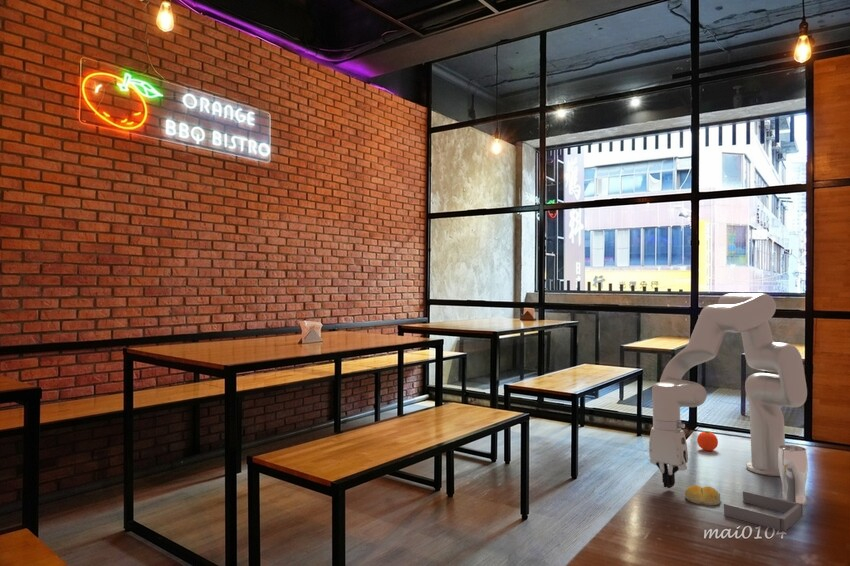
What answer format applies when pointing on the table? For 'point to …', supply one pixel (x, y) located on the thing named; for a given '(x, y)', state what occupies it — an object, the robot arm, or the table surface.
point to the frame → (779, 523)
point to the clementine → (707, 441)
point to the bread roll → (702, 495)
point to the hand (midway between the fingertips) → (668, 486)
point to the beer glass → (793, 472)
